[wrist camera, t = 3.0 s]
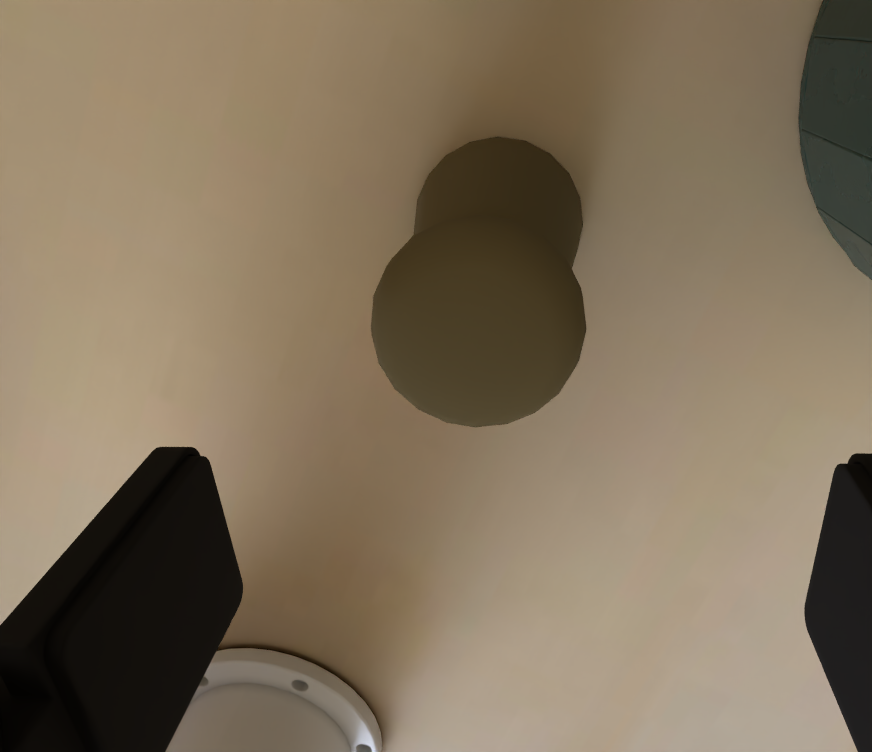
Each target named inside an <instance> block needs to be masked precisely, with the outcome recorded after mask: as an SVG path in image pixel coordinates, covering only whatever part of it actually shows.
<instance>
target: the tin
mask: <svg viewBox="0 0 872 752" xmlns="http://www.w3.org/2000/svg"><path fill="white" fill-rule="evenodd" d="M799 132H800V147H801V156H802V160H803V165H804V169H805V174H806V179H807V183H808V186H809V189H810V191H811V194H812V197H813V199H814V202H815V204H816V208H817V210H818V212H819V214H820V216H821V217H822V219H823V221H824V222H825V224H826V226H827V228H828V229H829V231H830V233H831V234H832V236H833V238H834V239H835V240H836V241H837V243H838V244H839V245H840V246H841V247H842V249H843V250H844V251H845V252H846V254H847V255H848V257H849V258H850V260H851V261H852V263H853V264H854V266H855V267H857V268H858V269H859V270H860V271H861V272H863V273H864V274H865V275H866V276H868V277H869V278H870V279H871V280H872V0H823V3H822V5H821V8H820V11H819V14H818V17H817V20H816V23H815V27H814V30H813V33H812V36H811V39H810V42H809V45H808V51H807V56H806V61H805V66H804V71H803V76H802V81H801V92H800V106H799Z"/></svg>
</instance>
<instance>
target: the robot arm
mask: <svg viewBox="0 0 872 752" xmlns="http://www.w3.org/2000/svg"><path fill="white" fill-rule="evenodd" d="M242 594H243V583H242V578H241V574H240V571H239V567H238V563H237V560H236V556H235V552H234V549H233V545H232V541H231V538H230V534H229V530H228V527H227V523H226V519H225V516H224V512H223V508H222V505H221V501H220V497H219V494H218V490H217V486H216V483H215V479H214V475H213V472H212V468H211V465H210V462H209V460H208V459H207V458H206V457H204V456H200V454H199V452H198V451H197V450H196V449H195V448H193V447H158V448H156V449H155V450H153V451H152V452H151V454H150V455H149V456H148V457H147V458H146V459H145V460H144V462H143V463H142V464H141V465H140V466H139V467H138V468H137V470H136V471H135V472H134V473H133V474H132V475H131V476H130V478H129V479H128V480H127V481H126V482H125V483H124V484H123V486H122V487H121V488H120V489H119V490H118V491H117V492H116V494H115V495H114V496H113V497H112V498H111V499H110V501H109V502H108V503H107V504H106V505H105V506H104V507H103V509H102V510H101V511H100V512H99V513H98V514H97V515H96V517H95V518H94V519H93V520H92V521H91V522H90V523H89V525H88V526H87V527H86V528H85V529H84V530H83V531H82V533H81V534H80V535H79V536H78V537H77V538H76V539H75V541H74V542H73V543H72V544H71V545H70V546H69V547H68V549H67V550H66V551H65V552H64V553H63V554H62V555H61V557H60V558H59V559H58V560H57V561H56V562H55V563H54V565H53V566H52V567H51V568H50V569H49V570H48V571H47V573H46V574H45V575H44V576H43V577H42V578H41V580H40V581H39V582H38V583H37V584H36V585H35V586H34V588H33V589H32V590H31V591H30V592H29V593H28V594H27V596H26V597H25V598H24V599H23V600H22V601H21V602H20V604H19V605H18V606H17V607H16V608H15V609H14V610H13V612H12V613H11V614H10V615H9V616H8V617H7V618H6V620H5V621H4V622H3V623H2V624H1V625H0V752H381V751H382V738H381V731H380V728H379V726H378V723H377V721H376V718H375V716H374V715H373V713H372V712H371V710H370V709H369V707H368V706H367V704H366V703H365V701H364V700H363V699H362V698H361V697H360V696H359V695H358V694H357V693H356V692H355V691H354V690H353V689H352V688H351V687H350V686H349V685H347V684H346V683H345V682H343V681H342V680H341V679H339V678H338V677H337V676H335V675H334V674H332V673H330V672H328V671H327V670H325V669H323V668H321V667H319V666H318V665H316V664H313V663H311V662H308V661H306V660H303V659H301V658H298V657H296V656H292V655H288V654H284V653H280V652H276V651H272V650H264V649H255V648H237V649H225V650H220V651H217V649H218V647H219V645H220V643H221V641H222V639H223V637H224V635H225V633H226V631H227V629H228V627H229V625H230V623H231V621H232V619H233V617H234V615H235V613H236V611H237V609H238V607H239V605H240V603H241V599H242ZM805 622H806V627H807V630H808V633H809V636H810V638H811V640H812V643H813V645H814V648H815V650H816V652H817V655H818V657H819V660H820V662H821V664H822V667H823V669H824V672H825V674H826V676H827V679H828V681H829V684H830V686H831V688H832V691H833V693H834V696H835V698H836V700H837V703H838V705H839V708H840V710H841V712H842V715H843V717H844V719H845V722H846V724H847V727H848V729H849V731H850V734H851V736H852V739H853V741H854V743H855V746H856V748H857V751H858V752H872V454H854V455H852V456H851V458H850V459H849V461H848V464H839V465H837V467H836V468H835V471H834V474H833V478H832V483H831V488H830V492H829V497H828V501H827V506H826V510H825V515H824V520H823V524H822V529H821V533H820V538H819V542H818V547H817V552H816V556H815V561H814V565H813V570H812V574H811V579H810V584H809V588H808V593H807V597H806V602H805Z"/></svg>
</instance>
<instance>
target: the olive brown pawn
mask: <svg viewBox="0 0 872 752" xmlns="http://www.w3.org/2000/svg"><path fill="white" fill-rule="evenodd" d="M582 226H583V220H582V211H581V202H580V196H579V194H578V192H577V190H576V188H575V186H574V184H573V181H572V179H571V177H570V175H569V173H568V172H567V171H566V170H565V169H564V168H563V167H562V166H561V165H560V164H559V163H558V162H557V161H556V159H555V158H554V157H553V156H552V155H551V154H550V153H548V152H546V151H544V150H542V149H540V148H538V147H536V146H534V145H532V144H530V143H528V142H526V141H523V140H516V139H509V138H502V137H494V138H489V139H484V140H478V141H473V142H469V143H468V144H466V145H464V146H462V147H460V148H459V149H457V150H455V151H453V152H451V153H450V154H448V155H446V156H445V157H444V159H443V160H442V161H441V162H440V163H439V164H438V165H437V166H436V167H435V168H434V169H433V171H432V172H431V173H430V174H429V175H428V177H427V179H426V181H425V184H424V186H423V188H422V190H421V193H420V195H419V197H418V200H417V209H416V218H415V226H414V235H413V237H412V238H411V239H410V240H409V241H408V242H407V243H406V244H405V245H404V246H403V247H402V248H401V249H400V251H399V252H398V253H397V254H396V255H395V256H394V257H393V258H392V259H391V260H390V262H389V263H388V265H387V266H386V269H385V271H384V273H383V275H382V278H381V280H380V282H379V284H378V287H377V289H376V291H375V293H374V297H373V309H372V321H371V332H372V338H373V342H374V346H375V350H376V354H377V358H378V362H379V364H380V366H381V368H382V369H383V371H384V372H385V374H386V376H387V377H388V379H389V380H390V382H391V384H392V385H393V387H394V388H395V389H396V390H397V391H398V392H399V393H400V394H401V395H402V396H404V397H405V398H406V399H407V400H408V401H409V402H410V403H412V404H413V405H414V406H415V407H416V408H417V409H419V410H421V411H423V412H425V413H427V414H429V415H432V416H434V417H436V418H438V419H440V420H442V421H444V422H446V423H452V424H458V425H464V426H470V427H482V426H492V425H502V424H508V423H510V422H513V421H515V420H518V419H520V418H523V417H525V416H528V415H530V414H533V413H535V412H536V411H538V410H539V409H540V408H541V407H543V406H544V405H545V404H546V403H548V402H549V401H550V400H551V399H553V398H554V397H555V396H556V395H557V394H559V392H560V391H561V389H562V388H563V386H564V384H565V383H566V381H567V380H568V378H569V377H570V375H571V374H572V372H573V370H574V369H575V367H576V365H577V363H578V361H579V358H580V354H581V350H582V346H583V341H584V337H585V333H586V321H585V313H584V304H583V296H582V291H581V287H580V285H579V283H578V281H577V279H576V277H575V275H574V273H573V271H572V266H573V262H574V259H575V256H576V252H577V249H578V244H579V240H580V235H581V231H582Z"/></svg>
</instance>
